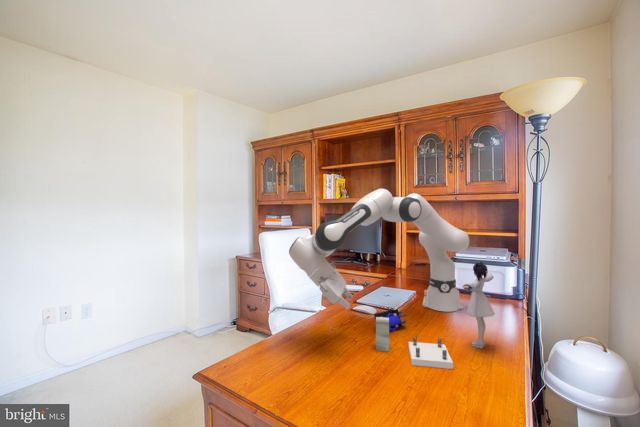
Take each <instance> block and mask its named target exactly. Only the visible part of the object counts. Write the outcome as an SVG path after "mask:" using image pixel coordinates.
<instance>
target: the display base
mask: <svg viewBox="0 0 640 427" xmlns="http://www.w3.org/2000/svg"><path fill="white" fill-rule="evenodd" d="M412 339H413V341H408V350H409V351H408V352H409V357H410V358H409V359H410V361H411V366H416V367H417V366H418V367H425V368H426V367H427V368H438V369H446V370H447V369H448V370H454V362H453V360H452V358H451V356H450V354H449V351H448V349H447V347H446V344H442V339H441V338H437V343H429V342H418V337H417V336H413V338H412Z"/></svg>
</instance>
